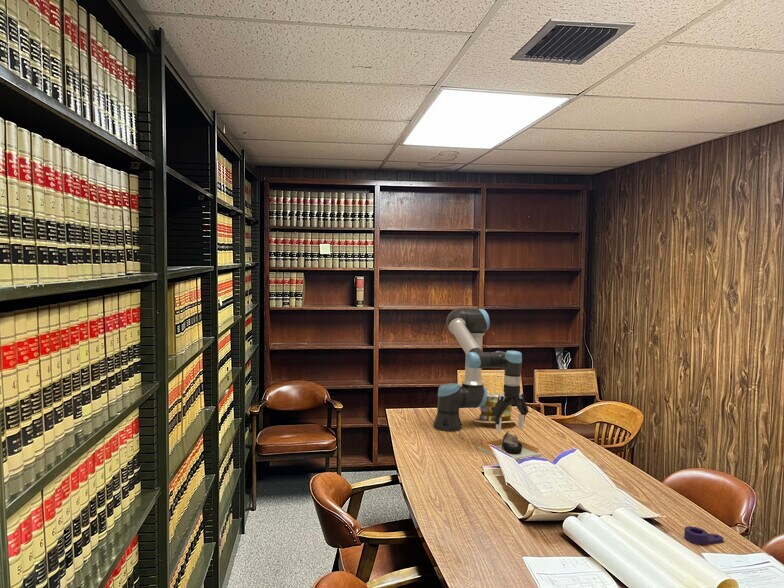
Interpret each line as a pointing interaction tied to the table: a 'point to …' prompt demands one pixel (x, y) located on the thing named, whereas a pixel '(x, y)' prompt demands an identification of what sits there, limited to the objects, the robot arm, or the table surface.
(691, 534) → the lever
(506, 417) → the stacked cans on tray
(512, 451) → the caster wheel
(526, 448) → the shallow square tray
